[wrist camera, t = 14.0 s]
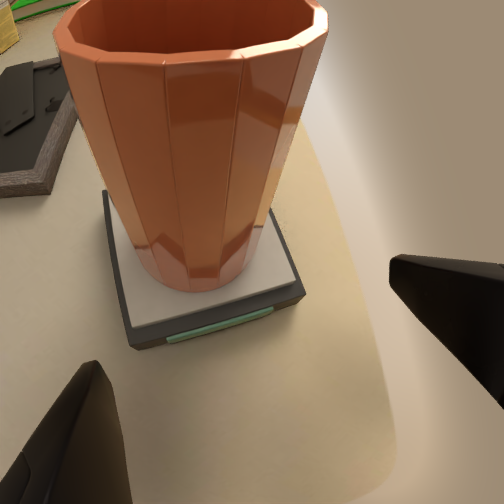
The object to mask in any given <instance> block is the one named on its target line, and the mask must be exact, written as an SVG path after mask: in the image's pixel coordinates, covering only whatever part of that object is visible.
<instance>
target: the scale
mask: <svg viewBox="0 0 504 504" xmlns="http://www.w3.org/2000/svg"><path fill="white" fill-rule="evenodd" d="M102 196H103V205H104V213H105V221H106V229H107V236H108V243H109V249H110V255H111V261H112V267H113V273H114V278H115V284H116V289H117V294H118V299H119V303H120V308H121V312H122V317H123V321H124V326H125V330H126V334H127V338H128V342H129V346H131V347H132V348H134V349H136V350H142V349H145V348H149V347H153V346H157V345H161V344H165V343H168V342H169V343H170V344H171V343H175V342H179V341H182V340H186V339H189V338H193V337H196V336H200V335H203V334H207V333H210V332H214V331H217V330H220V329H224V328H227V327H230V326H234V325H237V324H240V323H243V322H247V321H250V320H253V319H256V318H259V317H263V316H266V315H269V314H270V313H271V312H273V311H276V310H279V309H282V308H285V307H288V306H291V305H294V304H297V303H298V302H299V301H300V300H301V299H302V298H303V297H304V296H305V295H306V292H305V289H304V287H303V284H302V282H301V279H300V277H299V274H298V272H297V269H296V267H295V264H294V262H293V260H292V257H291V255H290V252H289V250H288V247H287V245H286V243H285V240H284V238H283V235H282V233H281V231H280V228H279V226H278V223H277V221H276V219H275V216H274V214H273V212H272V209H271V207H270V209H269V212H268V215H267V218H266V221H265V224H264V227H263V230H262V233H261V236H260V239H259V242H258V245H257V247H256V250H255V253H254V255H253V256H252V258H251V260H250V262H249V264H248V265H247V267H246V268H245V269H244V270H243V272H242V273H241V274H240V275H239V276H238V277H236V278H235V279H234V280H233V281H231V282H230V283H228V284H226V285H224V286H222V287H220V288H217V289H214V290H211V291H206V292H198V293H192V292H183V291H178V290H174V289H171V288H169V287H167V286H165V285H163V284H161V283H160V282H158V281H156V280H155V279H154V278H153V277H152V276H151V275H150V274H149V273H148V272H147V271H146V270H145V269H144V267H143V265H142V264H141V262H140V260H139V258H138V256H137V254H136V252H135V251H134V249H133V247H132V244H131V242H130V240H129V238H128V236H127V234H126V232H125V230H124V228H123V226H122V223H121V221H120V219H119V217H118V215H117V213H116V210H115V208H114V206H113V204H112V201H111V199H110V197H109V195H108V192H107V190H103V191H102Z"/></svg>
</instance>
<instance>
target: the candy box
mask: <svg viewBox="0 0 504 504" xmlns="http://www.w3.org/2000/svg"><path fill="white" fill-rule="evenodd" d="M17 41H19V36H18V33H17V30H16V26H15V23H14V19H13V15H12V11H11V7H10V3H9V0H0V54H2V53H3V52H4V51H5V50H7V49H8V48H9V47H10V46H12V45H13V44H15V43H16V42H17Z"/></svg>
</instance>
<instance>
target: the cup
mask: <svg viewBox="0 0 504 504" xmlns="http://www.w3.org/2000/svg"><path fill="white" fill-rule="evenodd" d="M328 32H329V31H328V13H327V11H326V10H325V9H324V8H323V7H322V6H321V5H319V3H318V2H317V1H316V0H81V1H79V2H78V3H77V4H75V5H74V6H72V7H71V8H70V9H68V10H67V11H66V12H65V13H64V15H63V16H62V18H61V19H60V21H59V22H58V24H57V25H56V27H55V29H54V30H53V33H52V34H53V38H54V42H55V45H56V49H57V53H58V56H59V60H60V63H61V67H62V70H63V73H64V77H65V80H66V83H67V86H68V89H69V92H70V95H71V98H72V101H73V104H74V107H75V110H76V113H77V116H78V119H79V121H80V124H81V127H82V130H83V132H84V135H85V138H86V140H87V143H88V146H89V148H90V151H91V153H92V156H93V158H94V161H95V163H96V166H97V168H98V171H99V173H100V176H101V178H102V180H103V183H104V185H105V188H106V190H107V192H108V195H109V197H110V199H111V201H112V204H113V206H114V208H115V210H116V213H117V215H118V217H119V219H120V221H121V223H122V226H123V228H124V230H125V232H126V234H127V236H128V238H129V240H130V242H131V244H132V247H133V249H134V251H135V252H136V254H137V256H138V258H139V260H140V262H141V264H142V265H143V267H144V269H145V270H146V271H147V272H148V273H149V274H150V275H151V276H152V277H153V278H154V279H155V280H156V281H158V282H160V283H161V284H163V285H165V286H167V287H169V288H171V289H174V290H178V291H183V292H192V293H198V292H206V291H211V290H214V289H217V288H220V287H222V286H224V285H226V284H228V283H230V282H231V281H233V280H234V279H235V278H236V277H238V276H239V275H240V274H241V273H242V272H243V270H244V269H245V268H246V267H247V265H248V264H249V262H250V260H251V258H252V256H253V255H254V253H255V250H256V247H257V245H258V242H259V239H260V236H261V233H262V230H263V227H264V224H265V221H266V218H267V215H268V212H269V209H270V206H271V203H272V200H273V197H274V194H275V191H276V188H277V185H278V182H279V179H280V176H281V173H282V170H283V167H284V164H285V161H286V158H287V155H288V152H289V149H290V146H291V143H292V140H293V137H294V134H295V131H296V128H297V125H298V122H299V119H300V116H301V113H302V110H303V107H304V104H305V101H306V98H307V95H308V92H309V89H310V86H311V83H312V80H313V77H314V74H315V71H316V68H317V65H318V62H319V59H320V56H321V53H322V50H323V47H324V44H325V41H326V38H327V35H328Z"/></svg>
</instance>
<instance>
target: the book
mask: <svg viewBox="0 0 504 504" xmlns="http://www.w3.org/2000/svg"><path fill="white" fill-rule="evenodd" d="M79 1H81V0H19V1H18V2H17V3H15V4H14V5H13V6H12V7H11V11H12V15H13V19H14V22H16V21H19V20H22V19H25V18H28V17H30V16H33V15H37V14H40V13H43V12H46V11H50V10H53V9H57V8H60V7H64V6H68V5H72V4H76V3H78V2H79Z"/></svg>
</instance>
